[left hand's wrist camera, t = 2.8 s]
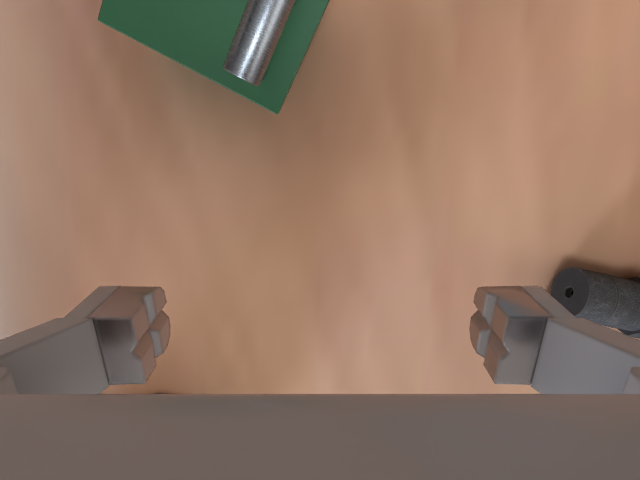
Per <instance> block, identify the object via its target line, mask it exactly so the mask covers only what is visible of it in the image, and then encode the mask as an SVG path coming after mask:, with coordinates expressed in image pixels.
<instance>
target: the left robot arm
mask: <svg viewBox="0 0 640 480" xmlns="http://www.w3.org/2000/svg"><path fill="white" fill-rule="evenodd" d="M165 304H166V297H165V292H164V290H163V289H162V288H161V287H145V286H99V287H98V288H97V289H96V290H95V291H94V292H92V293H91V294H90V295H89V296H88V297H87V298H86V299H85V300H83V301H82V302H81V303H80V304H79V305H78V306H77V307H75V308H74V309H73V310H72V311H71V312H70V313H69V314H68V315H66V316H65V317H64V318H56V319H54V320H51V321H48V322H46V323H43V324H41V325H38V326H36V327H33V328H30V329H28V330H25V331H23V332H20V333H18V334H15V335H12V336H10V337H7V338H5V339H2V340H0V480H640V340H638V339H635V338H633V337H630V336H627V335H625V334H622V333H620V332H617V331H615V330H612V329H609V328H607V327H604V326H602V325H599V324H597V323H594V322H592V321H589V320H586V319H584V318H576V317H575V316H574V315H573V314H571V313H570V312H569V311H568V310H567V309H566V308H565V307H563V306H562V305H561V304H560V303H559V302H558V301H557V300H556V299H554V298H553V297H552V296H551V295H550V294H549V293H548V292H547V291H545V290H544V289H543V288H542V287H540V286H495V287H479V288H477V290H476V293H475V296H474V304H475V306H476V307H477V309H478V310H477V312H476V313H475V314H474V315H473V316H472V317H471V321H470V339H471V342H472V345H473V348H474V349H475V351H476V353H477V354H479V355H481V356H482V357H484V358H485V360H484V366H485V368H486V370H487V371H488V373H489V375H490V376H491V378H492V380H493V381H494V383H495V384H524V385H531V387H533V388H534V389H535V390H537V391H538V392H540V393H541V394H99V393H101V392H102V391H103V390H105V389H106V388H107V387H109V385H116V384H145V383H146V381H147V380H148V378H149V376H150V375H151V373H152V371H153V370H154V368H155V366H156V360H155V358H156V357H158V356H159V355H161V354H163V353H164V351H165V349H166V347H167V346H168V342H169V338H170V320H169V317H168V316H167V315H166V314H165V313H164V312H163V310H162V309H163V307H164V306H165Z"/></svg>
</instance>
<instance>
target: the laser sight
mask: <svg viewBox="0 0 640 480" xmlns="http://www.w3.org/2000/svg"><path fill="white" fill-rule="evenodd" d="M551 296H552V297H553V298H554V299H556V300H557V301H558V302H559V303H560V304H561V305H562V306H563V307H565V308H566V309H567V310H568V311H569V312H570V313H571V314H573V315H574V316H575V317H576V318H584V319H586V320H589V321H592V322H594V323H597V324H599V325H604V326H608V327H612V328H617V329H618V330H620V331H621V332H622V333H623V334H625V335H627V336H630V337H634V338H639V339H640V277H638V276H637V277H634V278H631V279H624V278H619V277H614V276H610V275H606V274H602V273H596V272H592V271H588V270H583V269H579V268H575V267H570V268H567V269H565V270H563V271H562V272H561V273H560V274H559V275H558V276H557V277H556V279H555V281H554V283H553V286H552V290H551Z"/></svg>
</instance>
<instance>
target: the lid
mask: <svg viewBox="0 0 640 480" xmlns="http://www.w3.org/2000/svg"><path fill="white" fill-rule="evenodd" d="M329 1H330V0H103V2H102V6H101V9H100V13H99V17H98V21H100V22H102V23H104V24H106V25H108V26H109V27H111V28H113V29H115V30H117V31H119V32H121V33H123V34H125V35H127V36H128V37H130V38H132V39H134V40H136V41H138V42H140V43H142V44H144V45H146V46H148V47H149V48H151V49H153V50H155V51H157V52H159V53H161V54H163V55H165V56H167V57H169V58H170V59H172V60H174V61H176V62H178V63H180V64H182V65H184V66H186V67H188V68H189V69H191V70H193V71H195V72H197V73H199V74H201V75H203V76H205V77H207V78H209V79H210V80H212V81H214V82H216V83H218V84H220V85H222V86H224V87H226V88H228V89H230V90H231V91H233V92H235V93H237V94H239V95H241V96H243V97H245V98H247V99H249V100H250V101H252V102H254V103H256V104H258V105H260V106H262V107H264V108H266V109H268V110H270V111H271V112H273V113H275V114H278V113H279V112H280V110H281V107H282V105H283V103H284V101H285V98H286V96H287V94H288V92H289V90H290V87H291V85H292V83H293V81H294V78H295V76H296V74H297V72H298V70H299V67H300V65H301V63H302V61H303V58H304V56H305V54H306V52H307V50H308V47H309V45H310V43H311V41H312V38H313V36H314V34H315V32H316V30H317V27H318V25H319V23H320V21H321V18H322V16H323V14H324V12H325V10H326V7H327V5H328V3H329Z"/></svg>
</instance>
